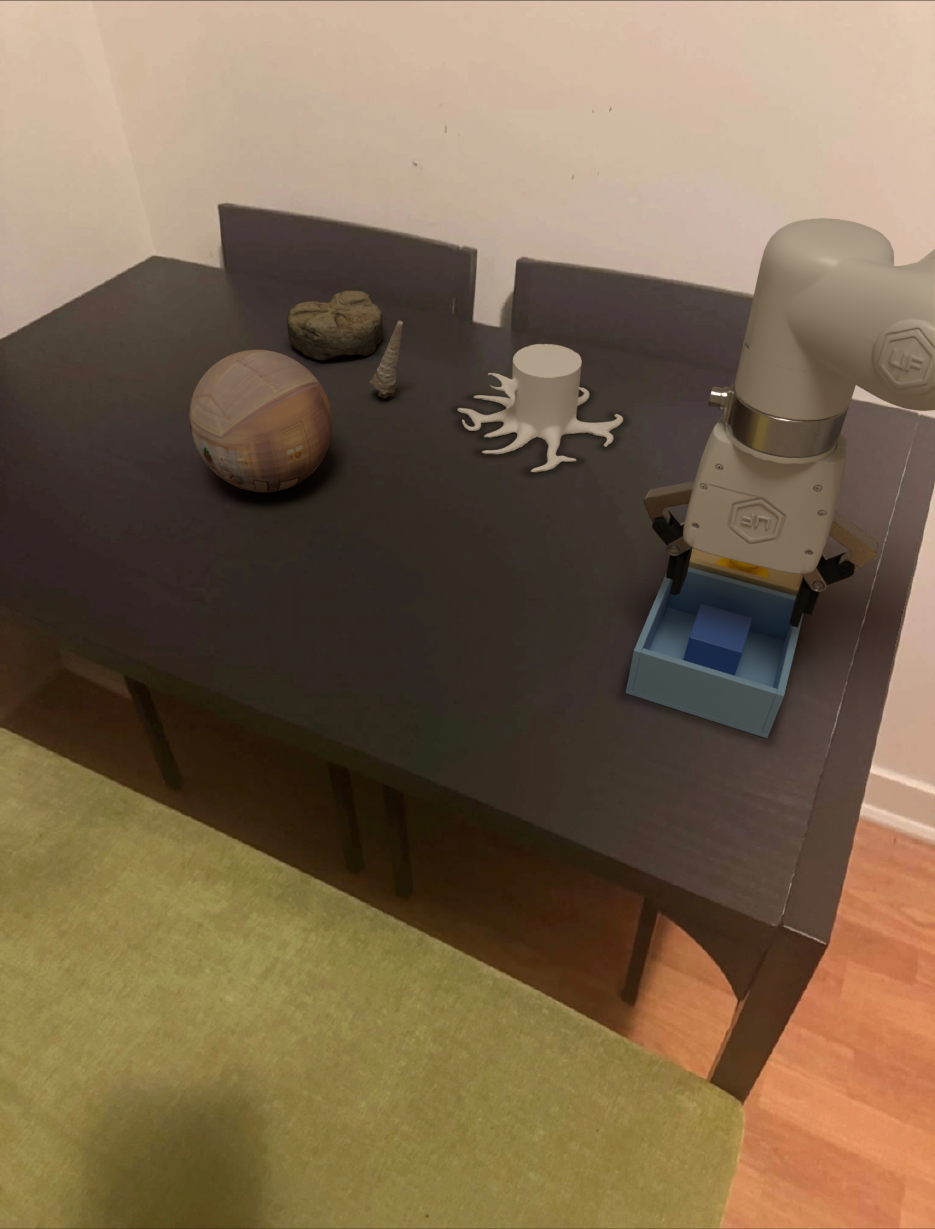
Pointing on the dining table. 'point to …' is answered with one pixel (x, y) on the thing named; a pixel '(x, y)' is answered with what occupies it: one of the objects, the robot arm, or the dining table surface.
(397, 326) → the seashell
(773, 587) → the cream bin
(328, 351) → the stone
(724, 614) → the blue block
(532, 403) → the tree stump
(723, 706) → the blue bin
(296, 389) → the ornament
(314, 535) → the dining table surface
